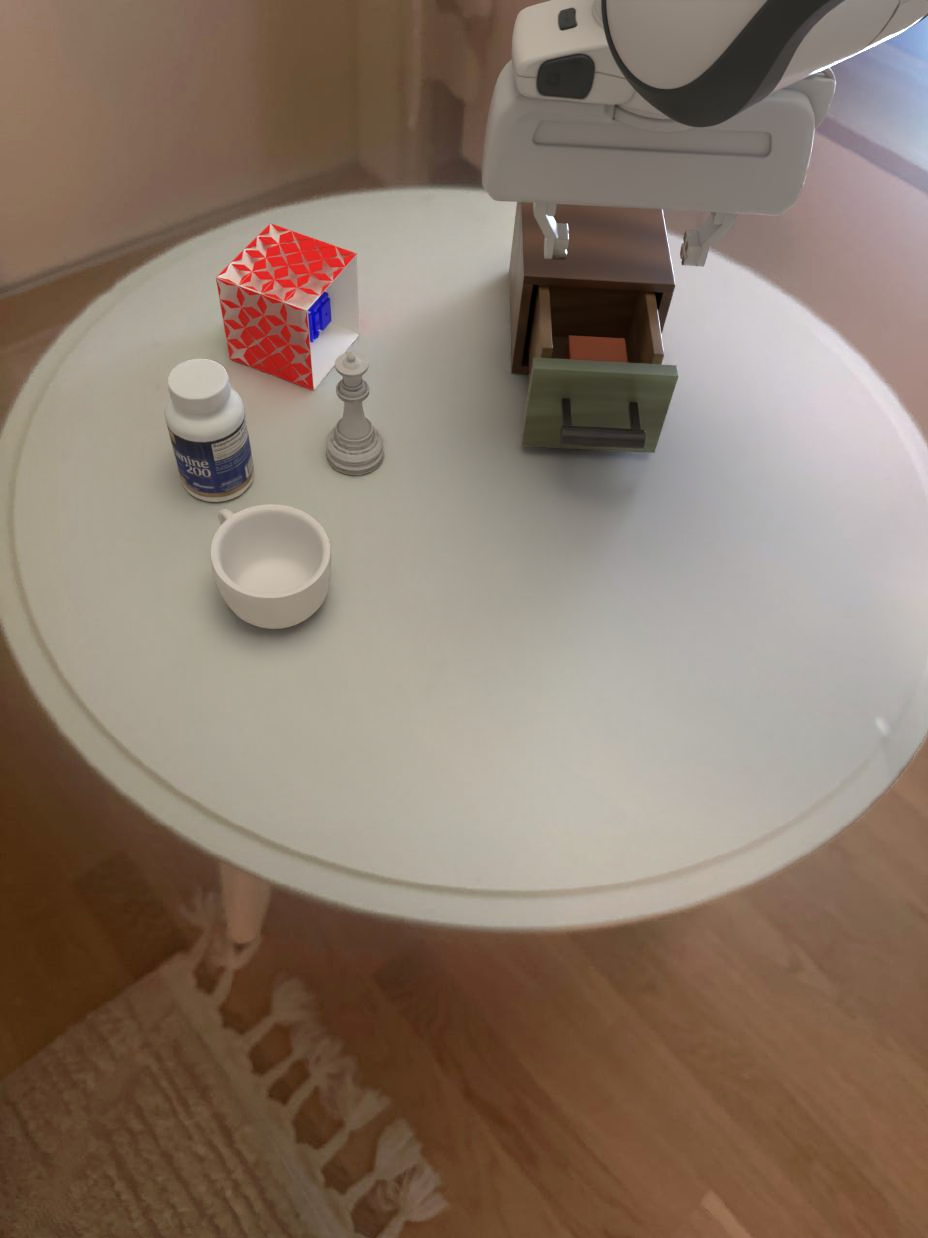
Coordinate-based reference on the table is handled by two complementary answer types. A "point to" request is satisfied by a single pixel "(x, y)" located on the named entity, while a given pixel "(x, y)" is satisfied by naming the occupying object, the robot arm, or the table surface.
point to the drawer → (596, 372)
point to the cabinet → (587, 261)
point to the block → (596, 349)
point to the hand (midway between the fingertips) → (623, 257)
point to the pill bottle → (208, 431)
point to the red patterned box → (290, 305)
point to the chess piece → (354, 422)
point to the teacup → (271, 564)
